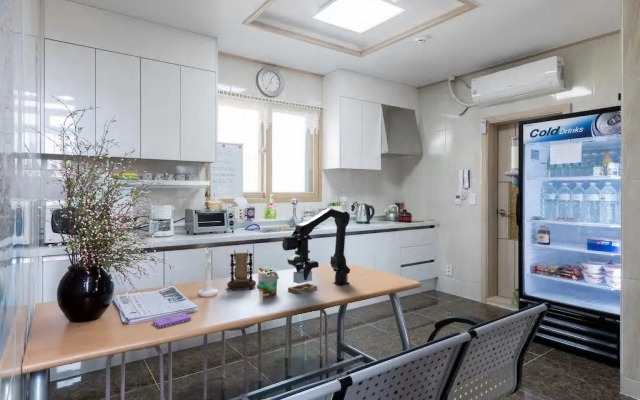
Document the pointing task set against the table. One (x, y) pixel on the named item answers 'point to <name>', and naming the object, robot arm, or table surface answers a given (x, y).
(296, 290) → the tan picture frame
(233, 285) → the scroll
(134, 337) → the table surface
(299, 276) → the key block
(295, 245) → the robot arm
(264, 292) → the food container
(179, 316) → the purple flat block
